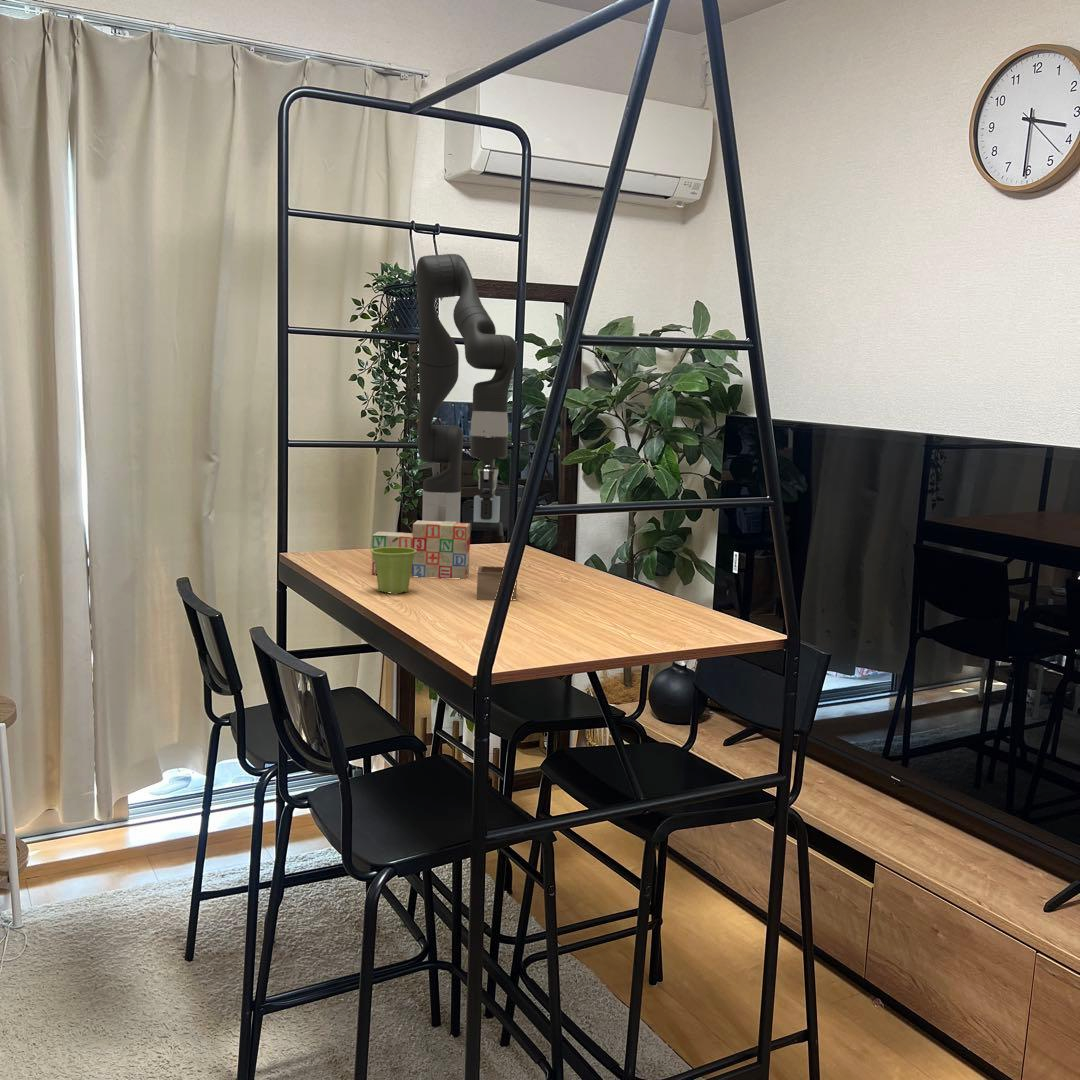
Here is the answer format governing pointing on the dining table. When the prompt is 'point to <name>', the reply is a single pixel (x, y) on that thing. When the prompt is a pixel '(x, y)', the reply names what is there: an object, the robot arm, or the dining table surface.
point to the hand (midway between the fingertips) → (487, 517)
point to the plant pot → (393, 568)
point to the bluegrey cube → (495, 510)
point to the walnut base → (490, 582)
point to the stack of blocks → (432, 548)
